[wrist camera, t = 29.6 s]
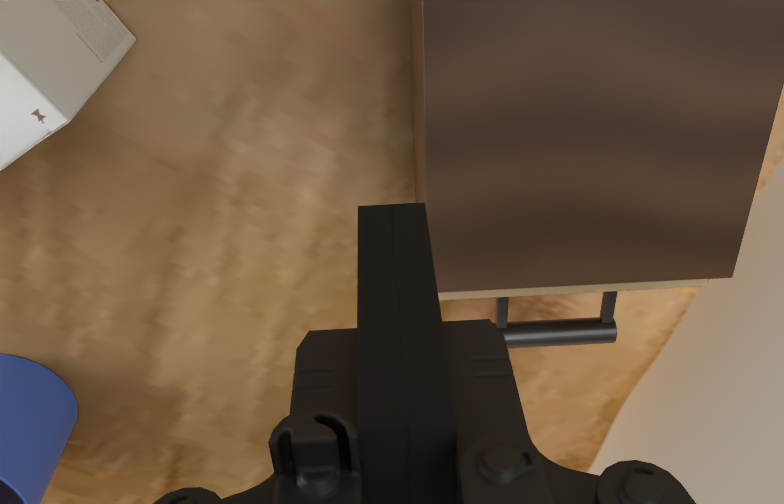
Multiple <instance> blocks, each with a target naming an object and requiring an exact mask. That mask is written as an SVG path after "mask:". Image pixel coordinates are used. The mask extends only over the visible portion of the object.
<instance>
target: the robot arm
mask: <svg viewBox="0 0 784 504" xmlns="http://www.w3.org/2000/svg"><path fill="white" fill-rule="evenodd" d="M294 370H295V373H294V379H293V390H292V397H291V407H290V415H289V416H287V417H285V418H284V419H283V420H282V421H281V422H280V423H279V424H278V425H277V426H276V427H275V428H274V429H273V432H272V434H271V437H270V439H269V442H268V443H269V448H270V453H271V458H272V463H273V468H274V473H273V474H272V475H271V476H270V477H269V478H268V479H266V480H265V481H264V482H262V483H261V484H259V485H258V486H255V487H253V488H251V489H249V490H246V491H244V492H241V493H238V494H235V495H232V496H229V497H226V498H223V499H221V498H220V497H219V496H218V495H217V494H216V493H215V492H212V491H209V490H207V489H204V488H201V487H198V488H182V489H179V490H176V491H173V492H170V493H167V494H166V495H164V496H163V497H162V498H160V499H159V500H157V501H156V502H154V503H153V504H696V503H695V502H694V500H693V499H692V498H691V496H690V495H689V494H688V492H687V491H686V489H685V488H684V487H683V486H682V484H681V483H680V482H679V481H678V480H677V479H676V478H675V477H673V476H672V475H671V474H670V473H669V472H668V471H666V470H664V469H662V468H660V467H658V466H656V465H654V464H652V463H647V462H642V461H637V460H632V461H621V462H617V463H615V464H613V465H611V466H609V467H607V468H606V469H605V470H604V471H603V473H602V474H601V475H600V476H598V475H594V474H589V473H585V472H580V471H575V470H572V469H568V468H565V467H562V466H560V465H558V464H556V463H554V462H552V461H550V460H549V459H547V458H546V457H545V456H544V455H542V454H541V453H540V452H539V451H538V450H537V448H536V447H535V446H534V444H533V443H532V441H531V438H530V436H529V434H528V430H527V426H526V422H525V418H524V414H523V410H522V406H521V402H520V398H519V394H518V390H517V386H516V382H515V378H514V376H513V369H512V365H511V361H510V360H509V353H508V349H507V345H506V341H505V337H504V335H503V334H502V333H501V332H500V331H499V330H498V328H497V327H496V326H495V325H494V324H493V323H492V322H491V321H490V319H483V320H465V321H447V322H442V318H441V311H440V304H439V297H438V290H437V283H436V276H435V269H434V263H433V256H432V249H431V242H430V235H429V228H428V221H427V214H426V207H425V203H408V204H390V205H372V206H358V299H357V328H351V329H334V330H316V331H309V332H308V333H307V335H306V336H305V338H304V339H303V341H302V342H301V344H300V345H299V347H298V348H297V351H296V360H295V369H294Z"/></svg>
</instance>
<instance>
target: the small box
mask: <svg viewBox="0 0 784 504" xmlns="http://www.w3.org/2000/svg"><path fill="white" fill-rule="evenodd" d="M135 42H136V38H135V37H134V36H133V35H132V33H131V32H130V31H129V30H128V29H127V28H126V27H125V25H124V24H123V23H122V22H121V21H120V20H119V18H118V17H117V16H116V15H115V14H114V13H113V12H112V10H111V9H110V8H109V7H108V6H107V5H106V4H105V2H104V1H103V0H0V171H1V170H3V169H4V168H5V167H7V166H8V165H9V164H11V163H12V162H13V161H15V160H16V159H17V158H19V157H20V156H22V155H23V154H24V153H26V152H27V151H28V150H30V149H31V148H32V147H34V146H35V145H36V144H38V143H39V142H41V141H42V140H44V139H45V138H47V137H48V136H50V135H51V134H53V133H54V132H56V131H57V130H59V129H60V128H62V127H63V126H65V125H67V124H68V123H70V121H71V120H72V119H73V118H74V116H75V115H76V114H77V113H78V111H79V110H80V109H81V108H82V107H83V105H84V104H85V103H86V102H87V100H88V99H89V98H90V97H91V96H92V94H93V93H94V92H95V91H96V90H97V89H98V87H99V86H100V85H101V84H102V83H103V81H104V80H105V79H106V78H107V77H108V76H109V74H110V73H111V72H112V71H113V69H114V68H115V67H116V66H117V64H118V63H119V62H120V61H121V60H122V58H123V57H124V56H125V55H126V53H127V52H128V51H129V49H130V48H131V47H132V46H133V44H134V43H135Z"/></svg>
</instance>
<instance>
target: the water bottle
mask: <svg viewBox="0 0 784 504" xmlns="http://www.w3.org/2000/svg"><path fill="white" fill-rule="evenodd" d="M77 416H78V406H77V401H76V399H75V397H74V394H73V392H72V391H71V390H70V388H69V387H68V385H67V384H66V383H65V382H64V381H63V380H62V379H61V378H60V377H59V376H57V375H56V374H55V373H53V372H52V371H50V370H49V369H47V368H45V367H43V366H42V365H40V364H38V363H36V362H33V361H30V360H27V359H24V358H21V357H16V356H12V355H3V354H0V504H40V502H41V500H42V497H43V495H44V493H45V491H46V489H47V486H48V484H49V482H50V480H51V477H52V475H53V473H54V471H55V468H56V466H57V464H58V461H59V459H60V457H61V455H62V452H63V450H64V448H65V446H66V443H67V441H68V439H69V437H70V434H71V432H72V430H73V428H74V425H75V423H76V421H77Z"/></svg>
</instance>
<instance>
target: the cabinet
mask: <svg viewBox="0 0 784 504" xmlns="http://www.w3.org/2000/svg"><path fill="white" fill-rule="evenodd" d="M410 6H411V43H412V81H413V119H414V157H415V194H416V203H425V207H426V214H427V221H428V228H429V235H430V242H431V249H432V256H433V263H434V269H435V276H436V283H437V290H438V293H444V292H464V291H483V290H502V289H522V288H541V287H560V286H580V285H599V284H618V283H638V282H657V281H676V280H696V279H714V278H731V277H732V276H733V272H734V269H735V265H736V261H737V257H738V253H739V249H740V246H741V242H742V238H743V235H744V231H745V227H746V223H747V220H748V216H749V212H750V208H751V204H752V201H753V197H754V193H755V189H756V186H757V182H758V178H759V174H760V171H761V167H762V163H763V159H764V155H765V152H766V148H767V144H768V140H769V137H770V133H771V129H772V125H773V122H774V118H775V114H776V110H777V106H778V103H779V99H780V95H781V91H782V88H783V84H784V0H410Z"/></svg>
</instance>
